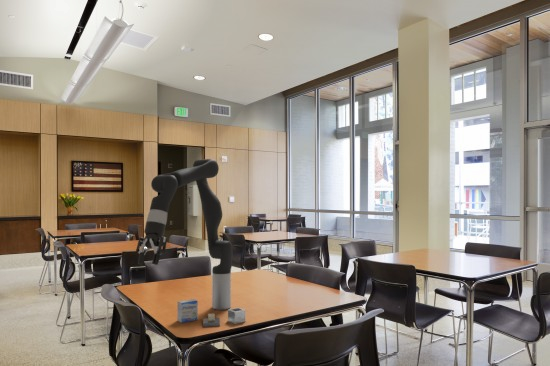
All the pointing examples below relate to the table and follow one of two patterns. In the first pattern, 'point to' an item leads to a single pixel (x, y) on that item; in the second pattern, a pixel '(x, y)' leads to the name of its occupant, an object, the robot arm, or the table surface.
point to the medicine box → (187, 310)
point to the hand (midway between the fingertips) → (147, 264)
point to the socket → (236, 315)
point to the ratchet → (211, 321)
